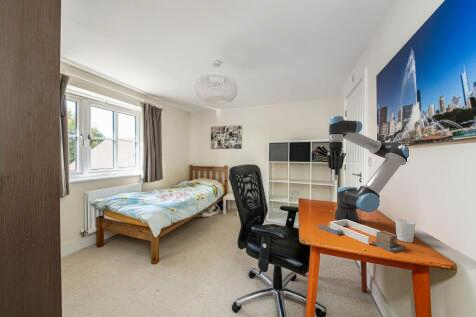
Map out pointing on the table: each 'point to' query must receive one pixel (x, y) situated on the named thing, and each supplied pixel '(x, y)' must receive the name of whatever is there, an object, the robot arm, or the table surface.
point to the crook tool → (330, 230)
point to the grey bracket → (398, 248)
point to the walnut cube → (386, 239)
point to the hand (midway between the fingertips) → (334, 180)
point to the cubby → (353, 234)
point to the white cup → (405, 230)
